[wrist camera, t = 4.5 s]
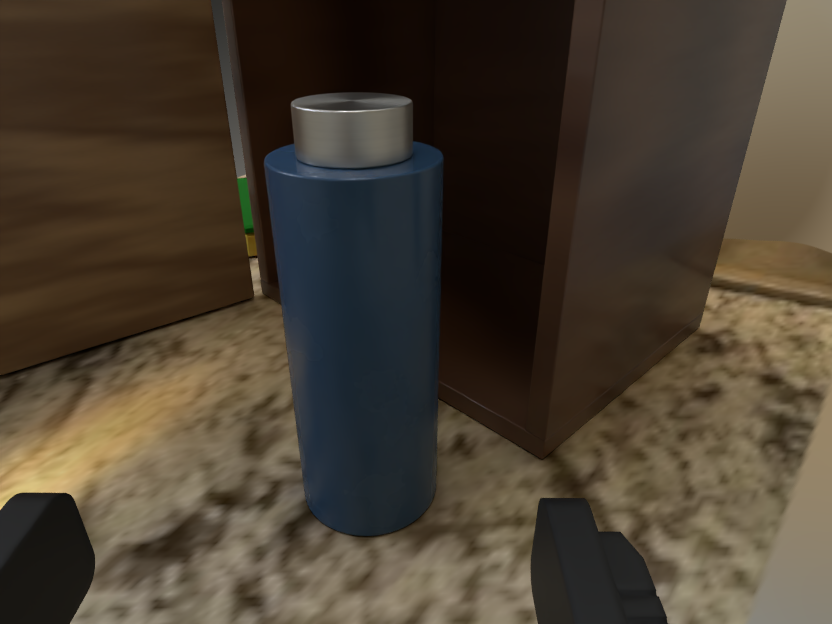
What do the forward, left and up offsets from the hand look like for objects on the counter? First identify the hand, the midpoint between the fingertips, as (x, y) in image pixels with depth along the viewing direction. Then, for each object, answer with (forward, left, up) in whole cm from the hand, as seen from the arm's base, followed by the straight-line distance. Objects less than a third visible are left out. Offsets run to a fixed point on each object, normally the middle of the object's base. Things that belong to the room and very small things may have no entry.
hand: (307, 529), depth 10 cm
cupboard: (+14, -21, -9) cm, 27 cm away
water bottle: (+7, -7, -9) cm, 13 cm away
